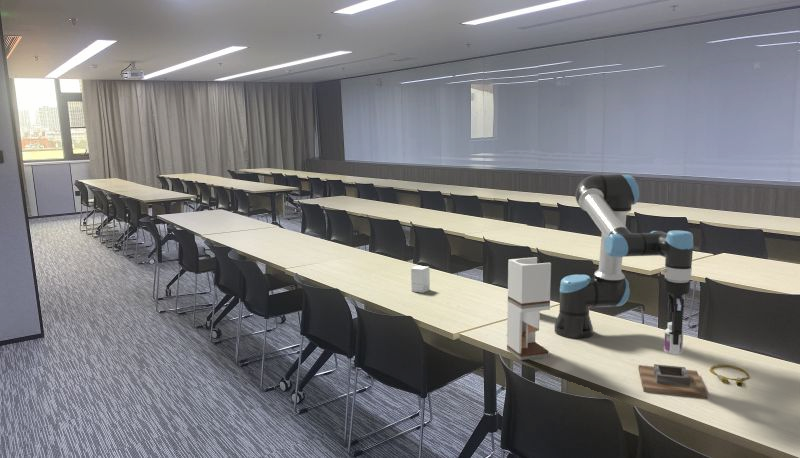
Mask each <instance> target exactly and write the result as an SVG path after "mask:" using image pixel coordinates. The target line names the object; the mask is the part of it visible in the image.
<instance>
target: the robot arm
mask: <svg viewBox="0 0 800 458" xmlns="http://www.w3.org/2000/svg"><path fill="white" fill-rule="evenodd" d="M574 194H575V200H576V203H577V204H578V205H577V206H579V207H580V209H581V210H583V211H585V212H586V213H587V214H588V215H589V217H590V218H591V220H592V221H593V222H594V224H595V225H596V227H597V228H598V229H599V231H600V232H601V236H600V237H601V239H600V248H599V250H600V251H599V259H598V260H599V262H598V269H597V270H596V271H594V273H593V278H591V277H590V275H587V274H570V275H566V276H564V277H563V278H562V279H561V280H560V286H559V313H558V316H557V318H556V321H555V322H554V323H555V324H554V333H555V334H557V335H558V336H562V337H566V338H571V339H585V338H589V337H591V336H593V335H594V327H593V324H592V320H591V317H590V308H615V307H621V306H623V305H625V304H626V303H627V301H628V300H629V297H630V293H631V292H630V290H631V289H630V287H629V286H630V283H629V281H628V279H627V278H626V275H625V274H624V273H623V272H622V267H623V265H622V264H623V258H624V257H627V258H628V257H655V256H656V257H657V256H659V257H664V258H665V260H664V261H665V264H664V266H665V267H664V268H663V269H662V272H664V280H663V291H664V292H665V293H668V297H667V298H668V299H667V300H668V305H667V306H668V308H667V309H668V310H667V320H666V321H667V323H668V322H672V332H669V334H671V338H670V354H669V355H671V354H679V351H680V335H682V331H683V320H684V310H685V309H684V308H685V305H684V303H685V299H684V298H683V295H688V294H690V291H691V280H692V267H693V265H692V264H693V253H694V252H693V251H694V234H693V233H692V232H690V231H689V230H679V229H677V230H669V231H667V232H664V231H662V230H652V231H651V232H641V233H640V232H638V233H631V231H630V230H629V229H628V228H627V225H626V224H627V223H626V222H627V215H628V213H630V212H631V211H632V207H633V205H636V204H637V203H638V201H639V199H640V188H639V185H638V182H637V181H636V179H635V177H634V176H632V175H630V174H621V173H620V174H601V175H600V174H593V175H589V176H587V177H585V178H583V179H582V180H581V181H580V182H579V184H578V185H577V187H576V190H575V193H574Z"/></svg>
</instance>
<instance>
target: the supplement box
mask: <svg viewBox="0 0 800 458" xmlns="http://www.w3.org/2000/svg"><path fill="white" fill-rule="evenodd" d="M410 271H411V272H410V275H411V278H410V279H411V284H410V286H411V292H416V293H421V294H422V293H423V294H424V293H426V292H428V291H430V289H431V288H430V287H431V286H430V285H431V284H430V282H431V281H430V266H423V265H415V266H413V267H411V268H410Z"/></svg>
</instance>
